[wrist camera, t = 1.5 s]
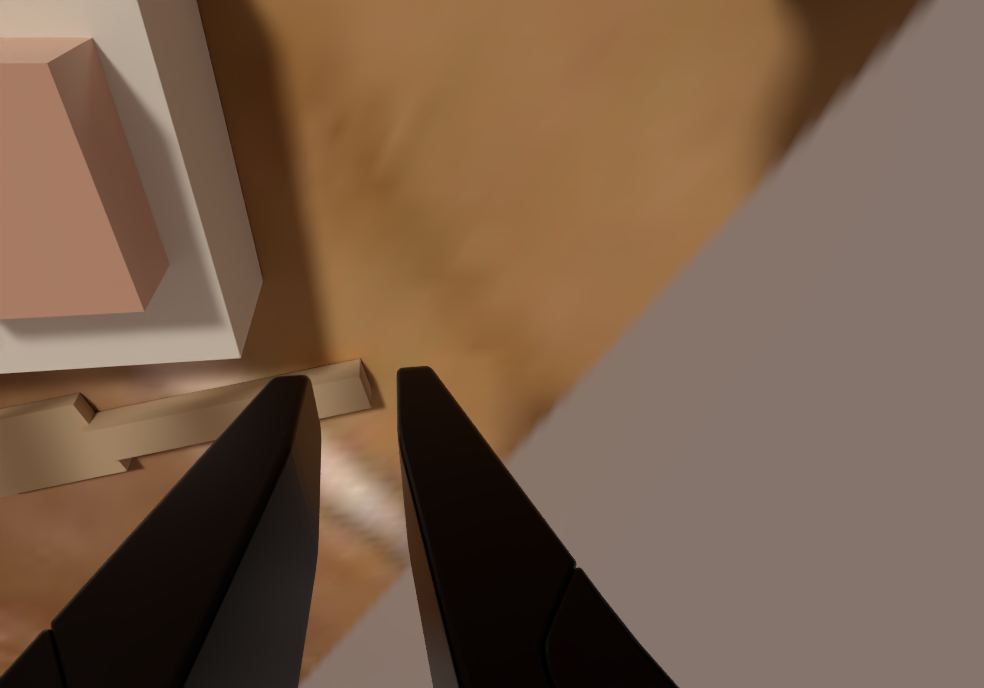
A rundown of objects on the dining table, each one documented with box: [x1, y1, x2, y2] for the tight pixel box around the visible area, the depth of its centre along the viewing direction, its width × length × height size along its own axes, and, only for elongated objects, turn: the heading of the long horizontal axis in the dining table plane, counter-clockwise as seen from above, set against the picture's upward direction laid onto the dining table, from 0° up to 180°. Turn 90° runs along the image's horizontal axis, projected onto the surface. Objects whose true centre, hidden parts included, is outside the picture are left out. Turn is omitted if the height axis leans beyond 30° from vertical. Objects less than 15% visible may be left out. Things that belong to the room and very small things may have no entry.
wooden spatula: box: [0, 359, 372, 497], centre depth 22 cm, size 15×4×1 cm, turn 98°
